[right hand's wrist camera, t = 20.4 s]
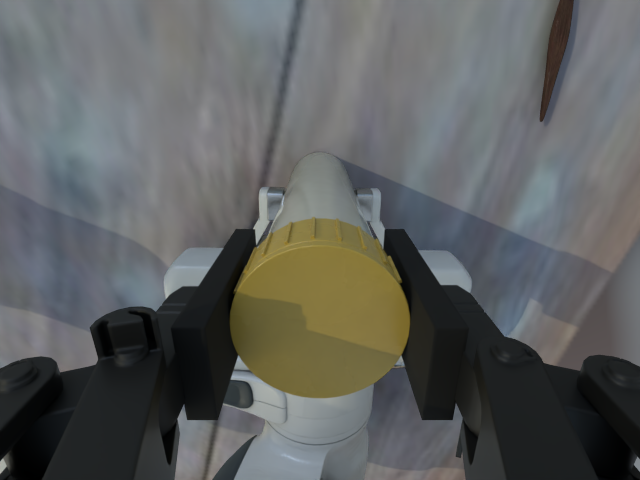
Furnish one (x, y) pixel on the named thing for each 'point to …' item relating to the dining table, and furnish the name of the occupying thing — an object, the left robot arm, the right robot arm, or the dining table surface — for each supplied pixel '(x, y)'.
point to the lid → (319, 310)
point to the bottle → (320, 194)
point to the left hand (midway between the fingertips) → (319, 189)
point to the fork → (556, 50)
